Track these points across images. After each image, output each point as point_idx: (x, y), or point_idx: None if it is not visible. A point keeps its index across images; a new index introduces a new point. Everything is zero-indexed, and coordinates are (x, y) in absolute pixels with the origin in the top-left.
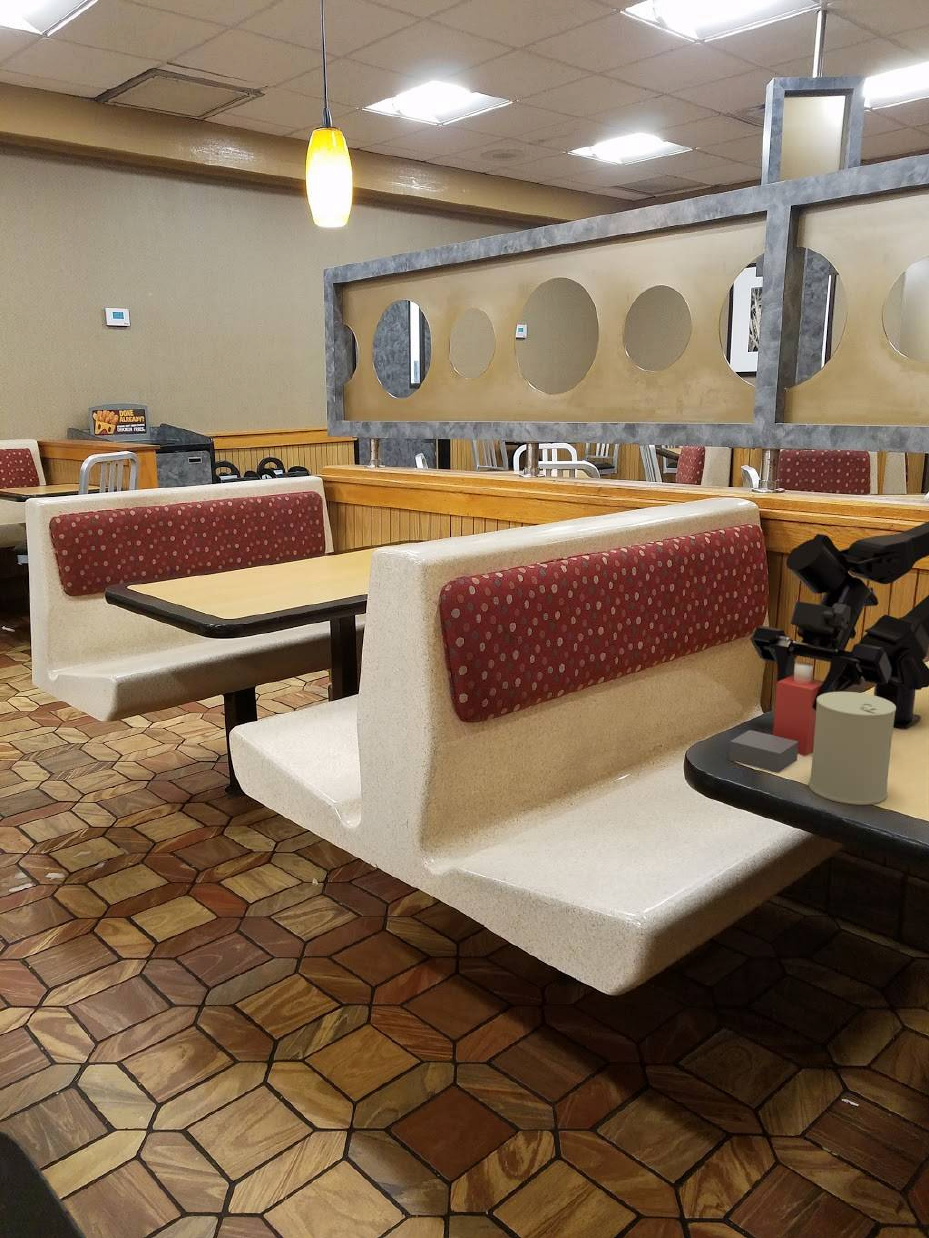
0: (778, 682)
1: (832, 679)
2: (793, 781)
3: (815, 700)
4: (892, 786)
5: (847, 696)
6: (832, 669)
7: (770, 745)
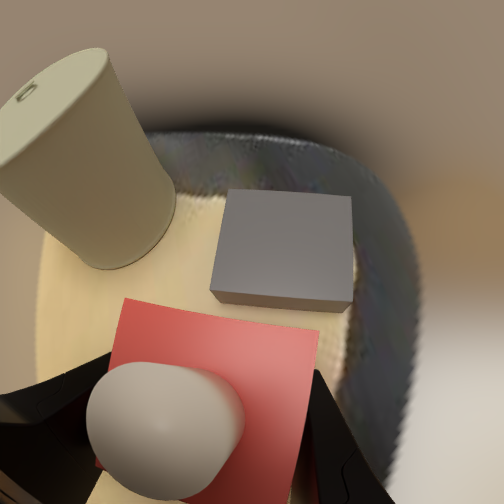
0: (310, 331)
1: (41, 389)
2: (201, 193)
3: None
4: (64, 268)
5: (30, 125)
6: (14, 416)
7: (262, 221)
